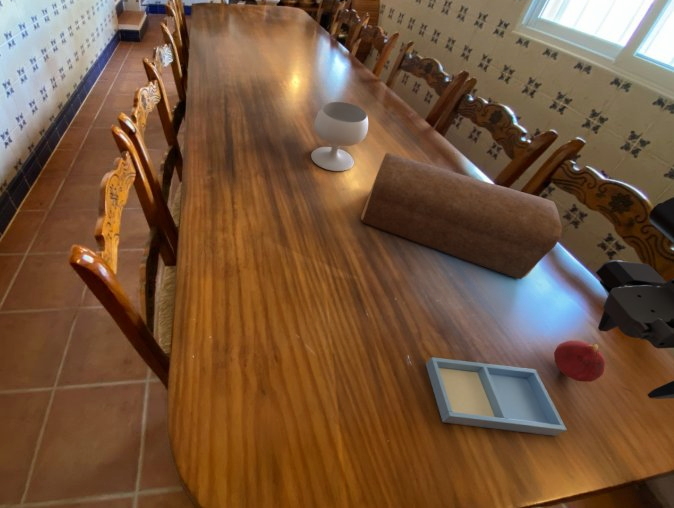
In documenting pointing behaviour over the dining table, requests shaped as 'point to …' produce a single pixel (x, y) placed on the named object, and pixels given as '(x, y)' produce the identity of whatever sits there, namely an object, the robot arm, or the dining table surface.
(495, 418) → the divided blue tray
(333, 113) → the chalice
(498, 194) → the bread
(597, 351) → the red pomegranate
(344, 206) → the dining table surface
